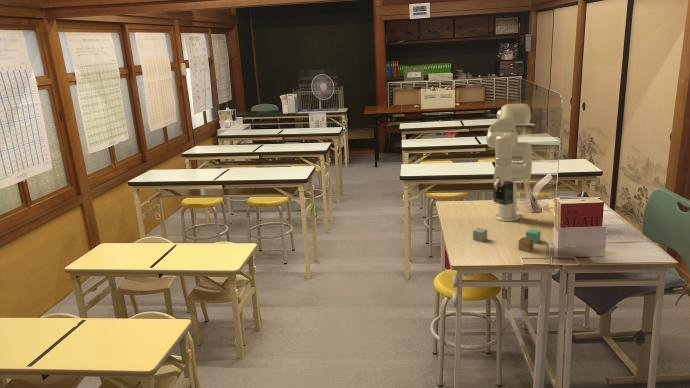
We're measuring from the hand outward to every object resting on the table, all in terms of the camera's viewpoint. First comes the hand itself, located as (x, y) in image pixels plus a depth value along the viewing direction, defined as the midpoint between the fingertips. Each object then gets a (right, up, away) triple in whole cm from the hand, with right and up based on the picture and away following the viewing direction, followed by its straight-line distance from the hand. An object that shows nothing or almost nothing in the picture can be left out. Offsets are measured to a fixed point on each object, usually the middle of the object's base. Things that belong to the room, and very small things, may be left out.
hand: (503, 196), depth 256 cm
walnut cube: (+9, -25, -6) cm, 27 cm away
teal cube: (+16, -22, +3) cm, 27 cm away
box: (0, -3, +1) cm, 3 cm away
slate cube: (-9, -21, +10) cm, 25 cm away
